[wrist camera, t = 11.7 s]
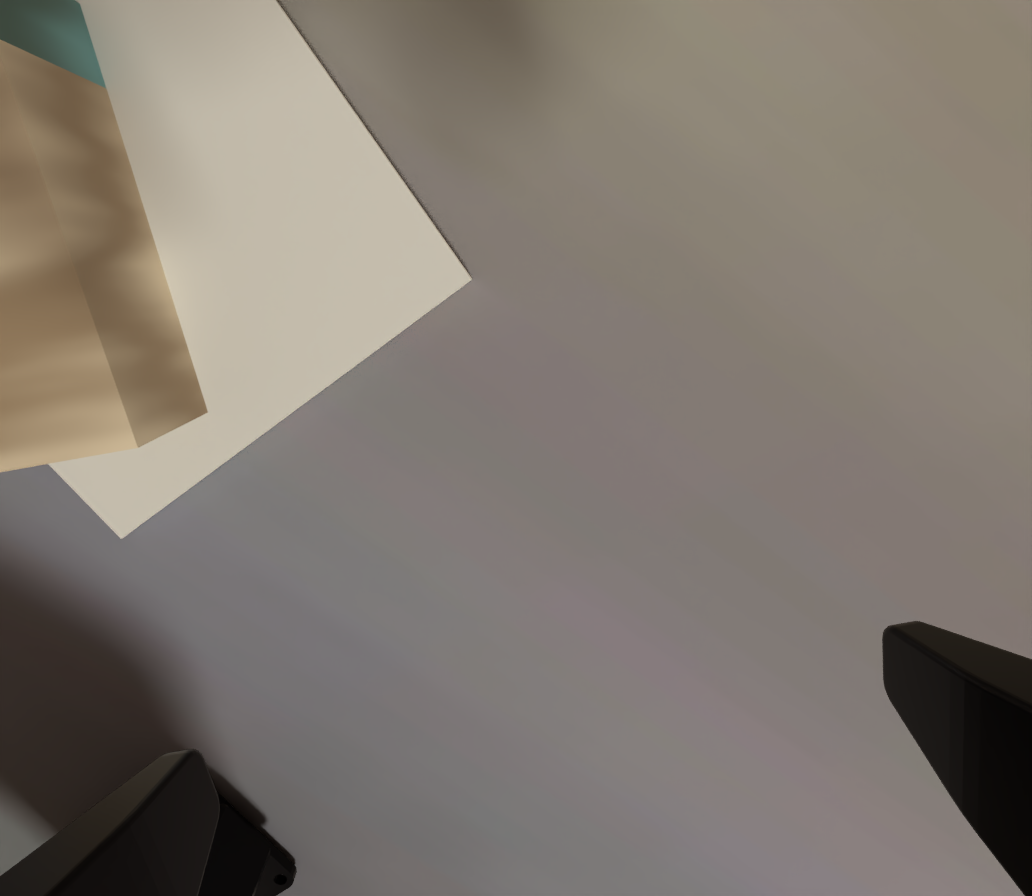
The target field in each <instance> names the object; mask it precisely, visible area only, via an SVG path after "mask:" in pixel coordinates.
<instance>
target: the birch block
mask: <svg viewBox="0 0 1032 896" xmlns="http://www.w3.org/2000/svg"><path fill="white" fill-rule="evenodd" d="M206 413H208V411H207V407H206V404H205V401H204V398H203V395H202V391H201V388H200V385H199V382H198V379H197V376H196V372H195V369H194V366H193V363H192V360H191V356H190V353H189V350H188V347H187V344H186V340H185V337H184V334H183V331H182V328H181V325H180V321H179V318H178V315H177V312H176V309H175V305H174V302H173V299H172V296H171V293H170V289H169V286H168V283H167V280H166V277H165V273H164V270H163V267H162V264H161V261H160V258H159V254H158V251H157V248H156V245H155V242H154V238H153V235H152V232H151V229H150V226H149V222H148V219H147V216H146V213H145V210H144V207H143V203H142V200H141V197H140V194H139V191H138V187H137V184H136V181H135V178H134V175H133V171H132V168H131V165H130V162H129V159H128V156H127V152H126V149H125V146H124V143H123V140H122V136H121V133H120V130H119V127H118V124H117V120H116V117H115V114H114V111H113V108H112V105H111V101H110V98H109V95H108V92H107V89H106V85H105V82H104V79H103V76H102V73H101V69H100V66H99V63H98V60H97V57H96V53H95V50H94V47H93V44H92V41H91V38H90V34H89V31H88V28H87V25H86V22H85V18H84V15H83V12H82V9H81V6H80V3H78V2H77V1H75V0H0V472H4V471H10V470H16V469H21V468H27V467H33V466H38V465H44V464H50V463H55V462H61V461H67V460H72V459H78V458H84V457H89V456H95V455H101V454H106V453H112V452H118V451H123V450H129V449H135V448H139V447H141V446H143V445H145V444H147V443H149V442H151V441H153V440H155V439H157V438H159V437H160V436H162V435H164V434H166V433H168V432H170V431H172V430H174V429H176V428H178V427H180V426H182V425H184V424H186V423H188V422H190V421H192V420H194V419H196V418H198V417H200V416H202V415H204V414H206Z"/></svg>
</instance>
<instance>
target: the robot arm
mask: <svg viewBox="0 0 1032 896" xmlns="http://www.w3.org/2000/svg"><path fill="white" fill-rule="evenodd" d="M882 643H883V680H884V686H885V690H886V693H887V695H888V697H889V699H890V701H891V703H892V704H893V706H894V708H895V709H896V711H897V712H898V714H899V716H900V717H901V719H902V720H903V722H904V723H905V725H906V727H907V728H908V730H909V731H910V733H911V735H912V736H913V738H914V739H915V741H916V742H917V744H918V746H919V747H920V749H921V750H922V752H923V754H924V755H925V757H926V758H927V760H928V761H929V763H930V765H931V766H932V768H933V769H934V771H935V772H936V774H937V776H938V777H939V779H940V780H941V782H942V784H943V785H944V787H945V788H946V790H947V791H948V793H949V795H950V796H951V798H952V799H953V801H954V802H955V804H956V805H957V807H958V808H959V810H960V811H961V813H962V814H963V815H964V817H965V818H966V819H967V821H968V822H969V823H970V825H971V826H972V827H973V829H974V830H975V832H976V833H977V834H978V836H979V837H980V838H981V839H982V841H983V842H984V843H985V845H986V846H987V847H988V848H989V850H990V851H991V852H992V854H993V855H994V856H995V858H996V859H997V860H998V861H999V863H1000V864H1001V865H1002V867H1003V868H1004V869H1005V871H1006V872H1007V873H1008V874H1009V876H1010V877H1011V878H1012V880H1013V881H1014V882H1015V883H1016V885H1017V886H1018V887H1019V889H1020V890H1021V891H1022V893H1023V894H1024V895H1025V896H1032V659H1029V658H1026V657H1023V656H1020V655H1017V654H1014V653H1011V652H1009V651H1006V650H1003V649H1000V648H997V647H994V646H991V645H988V644H985V643H982V642H979V641H976V640H973V639H970V638H967V637H965V636H962V635H959V634H956V633H953V632H950V631H947V630H944V629H941V628H938V627H935V626H932V625H929V624H926V623H923V622H920V621H913V622H907V623H901V624H896V625H890V626H888V627H887V628H886V629H885V630H884V632H883V638H882ZM296 872H297V871H296V867H295V865H294V864H293V863H292V862H291V861H290V860H289V859H288V858H287V857H285V856H284V855H283V854H282V853H281V852H280V851H279V850H278V849H277V848H276V847H275V846H274V845H273V844H272V843H271V842H270V841H268V840H267V839H266V838H265V837H264V836H263V835H262V834H261V833H260V832H259V831H258V830H257V829H256V828H255V827H254V826H253V825H252V824H250V823H249V822H248V821H247V820H246V819H245V818H244V817H243V816H242V815H241V814H240V813H239V812H238V811H237V810H236V809H235V808H233V807H232V806H231V805H230V804H229V803H228V802H227V801H226V800H225V799H224V798H223V797H222V796H221V795H220V794H219V793H218V792H216V789H215V786H214V784H213V781H212V779H211V776H210V773H209V771H208V768H207V766H206V763H205V760H204V758H203V756H202V754H201V753H200V752H199V751H197V750H195V749H188V750H182V751H177V752H171V753H167V754H164V755H162V756H160V757H159V758H158V759H156V760H155V761H154V762H152V763H151V764H150V765H148V766H147V767H146V768H144V769H143V770H142V771H140V772H139V773H138V774H136V775H135V776H134V777H132V778H131V779H130V780H128V781H127V782H126V783H124V784H123V785H122V786H120V787H119V788H118V789H116V790H115V791H114V792H112V793H111V794H110V795H108V796H107V797H105V798H104V799H103V800H101V801H100V802H99V803H97V804H96V805H95V806H93V807H92V808H91V809H89V810H88V811H87V812H85V813H84V814H83V815H81V816H80V817H79V818H77V819H76V820H75V821H73V822H72V823H71V824H69V825H68V826H67V827H65V828H64V829H63V830H61V831H60V832H59V833H57V834H56V835H55V836H53V837H52V838H51V839H49V840H48V841H47V842H45V843H44V844H43V845H41V846H40V847H39V848H37V849H36V850H35V851H33V852H32V853H31V854H29V855H28V856H27V857H25V858H24V859H23V860H21V861H20V862H19V863H17V864H16V865H15V866H13V867H12V868H11V869H9V870H8V871H7V872H5V873H4V874H3V875H1V876H0V896H276V895H278V894H279V893H281V892H283V891H284V890H286V889H288V888H289V887H290V886H291V885H292V884H293V881H294V878H295V875H296Z"/></svg>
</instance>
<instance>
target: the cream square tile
mask: <svg viewBox="0 0 1032 896" xmlns="http://www.w3.org/2000/svg"><path fill="white" fill-rule="evenodd" d="M75 1H77V2H78V3H80V6H81V9H82V12H83V15H84V18H85V22H86V25H87V28H88V31H89V34H90V38H91V41H92V44H93V47H94V50H95V53H96V57H97V60H98V63H99V66H100V69H101V73H102V76H103V79H104V82H105V85H106V89H107V92H108V95H109V98H110V101H111V105H112V108H113V111H114V114H115V117H116V120H117V124H118V127H119V130H120V133H121V136H122V140H123V143H124V146H125V149H126V152H127V156H128V159H129V162H130V165H131V168H132V171H133V175H134V178H135V181H136V184H137V187H138V191H139V194H140V197H141V200H142V203H143V207H144V210H145V213H146V216H147V219H148V222H149V226H150V229H151V232H152V235H153V238H154V242H155V245H156V248H157V251H158V254H159V258H160V261H161V264H162V267H163V270H164V273H165V277H166V280H167V283H168V286H169V289H170V293H171V296H172V299H173V302H174V305H175V309H176V312H177V315H178V318H179V321H180V325H181V328H182V331H183V334H184V337H185V340H186V344H187V347H188V350H189V353H190V356H191V360H192V363H193V366H194V369H195V372H196V376H197V379H198V382H199V385H200V388H201V391H202V395H203V398H204V401H205V404H206V407H207V411H208V413H206V414H204V415H202V416H200V417H198V418H196V419H194V420H192V421H190V422H188V423H186V424H184V425H182V426H180V427H178V428H176V429H174V430H172V431H170V432H168V433H166V434H164V435H162V436H160V437H159V438H157V439H155V440H153V441H151V442H149V443H147V444H145V445H143V446H141V447H139V448H135V449H129V450H123V451H118V452H112V453H106V454H101V455H95V456H89V457H84V458H78V459H72V460H67V461H61V462H55V463H50V464H49V465H50V466H51V467H52V468H53V469H54V470H55V471H56V472H57V473H58V474H59V476H60V477H61V478H62V479H63V480H64V481H65V482H66V483H67V484H68V485H69V486H70V487H71V488H72V489H73V490H74V491H75V492H76V493H77V494H78V495H79V496H80V497H81V498H82V499H83V500H84V501H85V502H86V503H87V504H88V505H89V506H90V507H91V508H92V509H93V510H94V511H95V513H96V514H97V515H98V516H99V517H100V518H101V519H102V520H103V521H104V522H105V523H106V524H107V525H108V526H109V527H110V528H111V529H112V530H113V531H114V532H115V533H116V534H117V535H118V536H119V537H120V538H121V539H122V538H123V537H125V536H126V535H127V534H129V533H130V532H132V531H133V530H134V529H136V528H137V527H138V526H140V525H141V524H142V523H144V522H145V521H146V520H148V519H149V518H151V517H152V516H153V515H155V514H156V513H157V512H159V511H160V510H161V509H163V508H164V507H165V506H167V505H168V504H169V503H171V502H172V501H173V500H175V499H176V498H178V497H179V496H180V495H182V494H183V493H184V492H186V491H187V490H188V489H190V488H191V487H192V486H194V485H195V484H196V483H198V482H199V481H200V480H202V479H203V478H205V477H206V476H207V475H209V474H210V473H211V472H213V471H214V470H215V469H217V468H218V467H219V466H221V465H222V464H223V463H225V462H226V461H228V460H229V459H230V458H232V457H233V456H234V455H236V454H237V453H238V452H240V451H241V450H242V449H244V448H245V447H246V446H248V445H249V444H250V443H252V442H253V441H255V440H256V439H257V438H259V437H260V436H261V435H263V434H264V433H265V432H267V431H268V430H269V429H271V428H272V427H273V426H275V425H276V424H278V423H279V422H280V421H282V420H283V419H284V418H286V417H287V416H288V415H290V414H291V413H292V412H294V411H295V410H296V409H298V408H299V407H300V406H302V405H303V404H305V403H306V402H307V401H309V400H310V399H311V398H313V397H314V396H315V395H317V394H318V393H319V392H321V391H322V390H323V389H325V388H326V387H328V386H329V385H330V384H332V383H333V382H334V381H336V380H337V379H338V378H340V377H341V376H342V375H344V374H345V373H346V372H348V371H349V370H350V369H352V368H353V367H355V366H356V365H357V364H359V363H360V362H361V361H363V360H364V359H365V358H367V357H368V356H369V355H371V354H372V353H373V352H375V351H376V350H378V349H379V348H380V347H382V346H383V345H384V344H386V343H387V342H388V341H390V340H391V339H392V338H394V337H395V336H396V335H398V334H399V333H400V332H402V331H403V330H405V329H406V328H407V327H409V326H410V325H411V324H413V323H414V322H415V321H417V320H418V319H419V318H421V317H422V316H423V315H425V314H426V313H428V312H429V311H430V310H432V309H433V308H434V307H436V306H437V305H438V304H440V303H441V302H442V301H444V300H445V299H446V298H448V297H449V296H450V295H452V294H453V293H455V292H456V291H457V290H459V289H460V288H461V287H463V286H464V285H465V284H467V283H468V282H469V281H471V280H472V277H471V276H470V274H469V273H468V272H467V270H466V269H465V267H464V266H463V265H462V263H461V262H460V260H459V259H458V257H457V256H456V255H455V253H454V252H453V250H452V249H451V247H450V246H449V245H448V243H447V242H446V240H445V239H444V237H443V236H442V235H441V233H440V232H439V230H438V229H437V228H436V226H435V225H434V223H433V222H432V220H431V219H430V218H429V216H428V215H427V213H426V212H425V210H424V209H423V208H422V206H421V205H420V203H419V202H418V200H417V199H416V198H415V196H414V195H413V193H412V192H411V191H410V189H409V188H408V186H407V185H406V183H405V182H404V181H403V179H402V178H401V176H400V175H399V173H398V172H397V171H396V169H395V168H394V166H393V165H392V163H391V162H390V161H389V159H388V158H387V156H386V155H385V154H384V152H383V151H382V149H381V148H380V146H379V145H378V144H377V142H376V141H375V139H374V138H373V136H372V135H371V134H370V132H369V131H368V129H367V128H366V126H365V125H364V124H363V122H362V121H361V119H360V118H359V117H358V115H357V114H356V112H355V111H354V109H353V108H352V107H351V105H350V104H349V102H348V101H347V99H346V98H345V97H344V95H343V94H342V92H341V91H340V89H339V88H338V87H337V85H336V84H335V82H334V81H333V79H332V78H331V77H330V75H329V74H328V72H327V71H326V70H325V68H324V67H323V65H322V64H321V62H320V61H319V60H318V58H317V57H316V55H315V54H314V52H313V51H312V50H311V48H310V47H309V45H308V44H307V42H306V41H305V40H304V38H303V37H302V35H301V34H300V33H299V31H298V30H297V28H296V27H295V25H294V24H293V23H292V21H291V20H290V18H289V17H288V15H287V14H286V13H285V11H284V10H283V8H282V7H281V5H280V4H279V3H278V1H277V0H75Z"/></svg>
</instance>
